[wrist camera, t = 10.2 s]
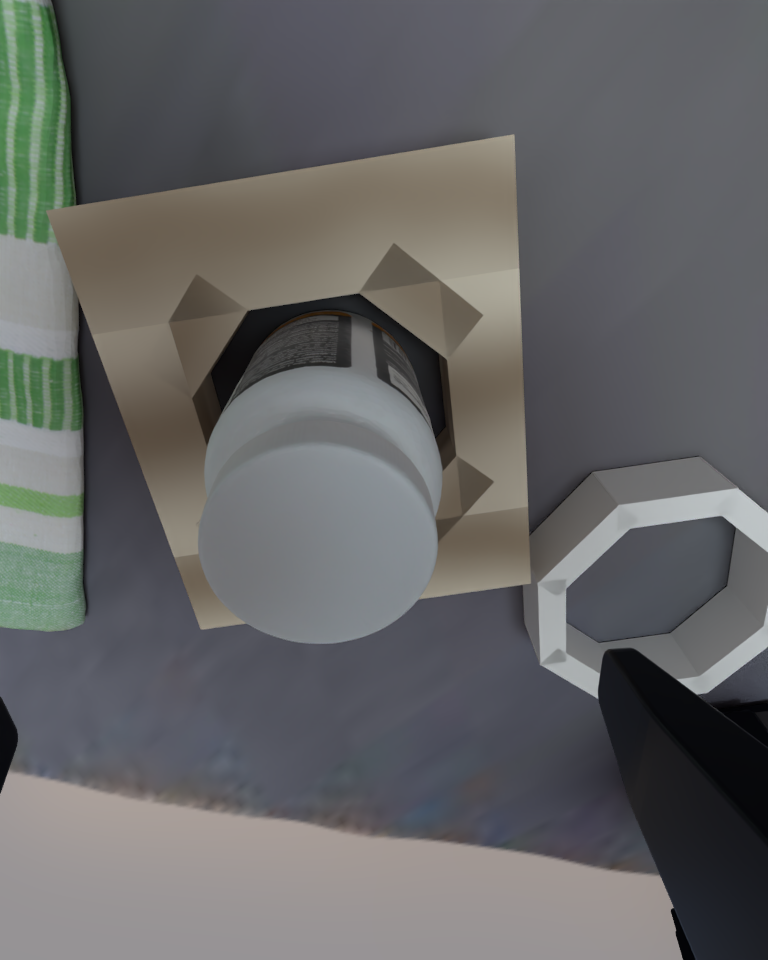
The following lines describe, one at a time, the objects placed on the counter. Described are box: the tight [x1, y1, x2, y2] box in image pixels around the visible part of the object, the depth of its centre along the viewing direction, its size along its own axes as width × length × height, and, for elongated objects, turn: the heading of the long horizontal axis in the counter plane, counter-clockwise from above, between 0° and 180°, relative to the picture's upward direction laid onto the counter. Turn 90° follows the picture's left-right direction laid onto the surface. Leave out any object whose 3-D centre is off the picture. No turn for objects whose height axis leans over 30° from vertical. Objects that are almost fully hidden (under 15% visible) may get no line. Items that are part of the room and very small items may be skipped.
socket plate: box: [46, 135, 531, 630], centre depth 19 cm, size 14×12×2 cm
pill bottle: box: [198, 310, 443, 644], centre depth 16 cm, size 6×6×10 cm
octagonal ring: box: [523, 456, 768, 698], centre depth 23 cm, size 10×10×2 cm
